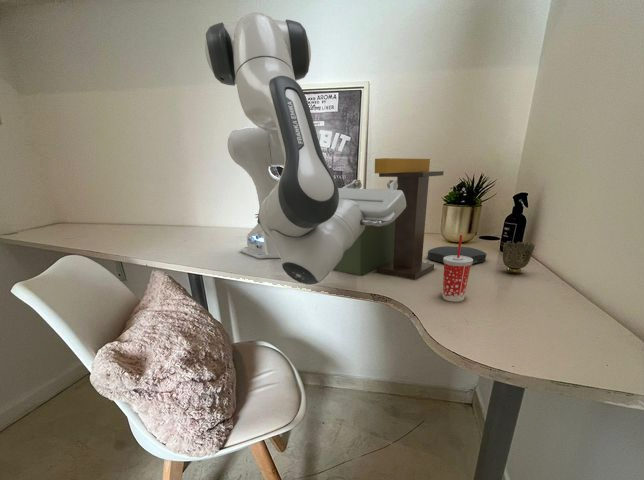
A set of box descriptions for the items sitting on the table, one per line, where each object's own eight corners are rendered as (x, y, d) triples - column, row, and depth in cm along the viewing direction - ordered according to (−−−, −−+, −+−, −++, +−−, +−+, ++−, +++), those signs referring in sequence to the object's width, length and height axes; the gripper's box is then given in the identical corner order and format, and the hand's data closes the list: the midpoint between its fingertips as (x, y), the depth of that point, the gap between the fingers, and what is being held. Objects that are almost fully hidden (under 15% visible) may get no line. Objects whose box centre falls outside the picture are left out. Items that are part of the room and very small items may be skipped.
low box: (332, 269, 98) (330, 212, 91) (367, 257, 111) (367, 206, 104) (360, 275, 92) (360, 215, 86) (393, 261, 105) (395, 208, 98)
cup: (501, 267, 96) (506, 239, 93) (530, 271, 92) (536, 242, 89) (495, 274, 91) (500, 244, 87) (525, 278, 87) (532, 247, 84)
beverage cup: (459, 292, 78) (467, 231, 73) (472, 301, 73) (482, 237, 67) (434, 294, 77) (440, 233, 72) (446, 303, 72) (454, 238, 66)
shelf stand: (376, 272, 94) (379, 172, 84) (397, 263, 103) (402, 171, 92) (414, 279, 88) (423, 172, 77) (434, 269, 96) (443, 171, 85)
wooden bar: (374, 173, 75) (374, 158, 74) (418, 171, 91) (419, 159, 89) (385, 173, 73) (386, 158, 72) (429, 171, 89) (430, 158, 88)
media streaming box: (422, 257, 108) (422, 248, 107) (454, 252, 114) (455, 243, 113) (457, 268, 96) (458, 258, 95) (490, 261, 103) (492, 251, 102)
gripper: (383, 212, 60) (416, 169, 66) (301, 206, 72) (336, 169, 77) (390, 239, 64) (421, 197, 70) (312, 229, 76) (344, 193, 82)
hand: (375, 182), depth 74 cm, fingers open, 8 cm apart
